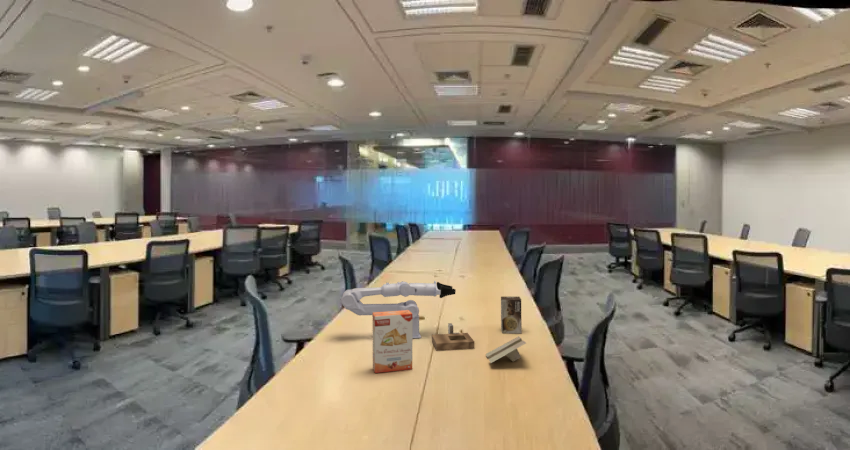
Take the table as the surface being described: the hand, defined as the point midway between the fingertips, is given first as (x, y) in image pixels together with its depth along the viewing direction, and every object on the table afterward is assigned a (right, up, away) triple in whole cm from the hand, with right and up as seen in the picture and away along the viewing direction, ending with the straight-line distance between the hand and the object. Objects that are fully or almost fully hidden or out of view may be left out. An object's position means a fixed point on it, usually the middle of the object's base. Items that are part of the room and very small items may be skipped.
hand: (453, 290), depth 192 cm
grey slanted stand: (+17, -22, -32) cm, 43 cm away
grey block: (0, -21, -4) cm, 21 cm away
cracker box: (-25, -23, -39) cm, 52 cm away
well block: (-1, -21, -14) cm, 25 cm away
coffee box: (+27, -20, +4) cm, 34 cm away
